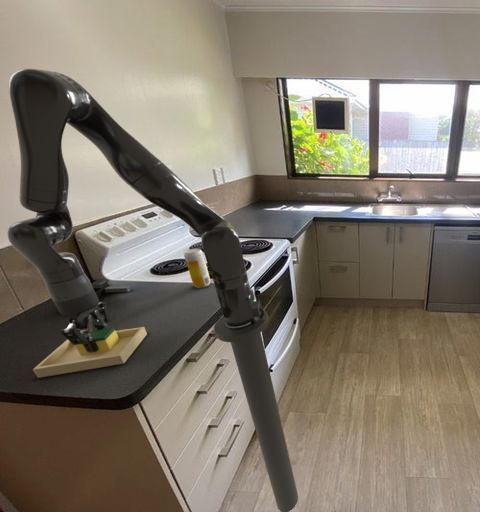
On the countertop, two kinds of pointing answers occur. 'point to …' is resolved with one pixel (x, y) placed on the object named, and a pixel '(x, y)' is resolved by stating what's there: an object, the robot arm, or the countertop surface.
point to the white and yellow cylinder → (197, 267)
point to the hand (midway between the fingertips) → (100, 344)
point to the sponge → (101, 340)
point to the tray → (90, 355)
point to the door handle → (107, 288)
